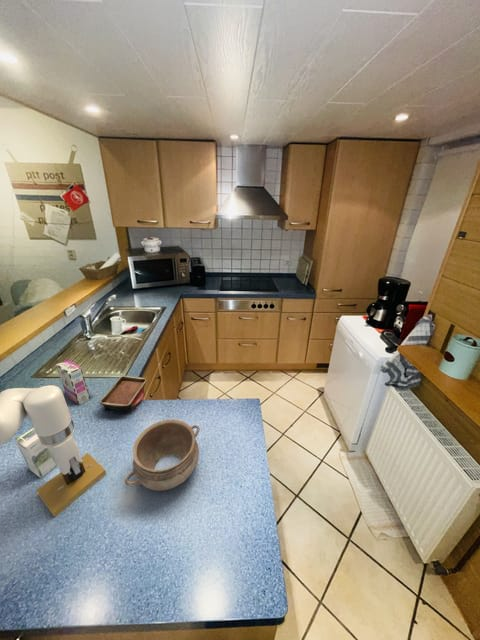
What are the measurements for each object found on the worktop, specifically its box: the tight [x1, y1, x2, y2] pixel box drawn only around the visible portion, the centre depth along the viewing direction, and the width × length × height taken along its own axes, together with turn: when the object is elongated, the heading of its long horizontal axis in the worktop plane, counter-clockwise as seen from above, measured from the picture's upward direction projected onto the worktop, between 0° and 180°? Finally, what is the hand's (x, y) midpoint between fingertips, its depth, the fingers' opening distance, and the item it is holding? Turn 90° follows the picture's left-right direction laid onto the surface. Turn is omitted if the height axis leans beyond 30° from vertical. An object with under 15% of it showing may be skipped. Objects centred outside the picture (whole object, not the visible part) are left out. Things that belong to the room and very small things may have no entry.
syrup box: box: [14, 427, 57, 478], centre depth 75 cm, size 6×6×14 cm
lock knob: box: [60, 462, 86, 485], centre depth 72 cm, size 5×2×5 cm, turn 143°
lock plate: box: [36, 452, 107, 518], centre depth 73 cm, size 14×10×3 cm
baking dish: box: [99, 375, 147, 414], centre depth 102 cm, size 14×18×10 cm
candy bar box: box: [55, 359, 91, 405], centre depth 103 cm, size 11×5×16 cm, turn 56°
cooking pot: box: [124, 419, 201, 492], centre depth 75 cm, size 25×19×12 cm
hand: (75, 475), depth 72 cm, fingers closed on lock knob
